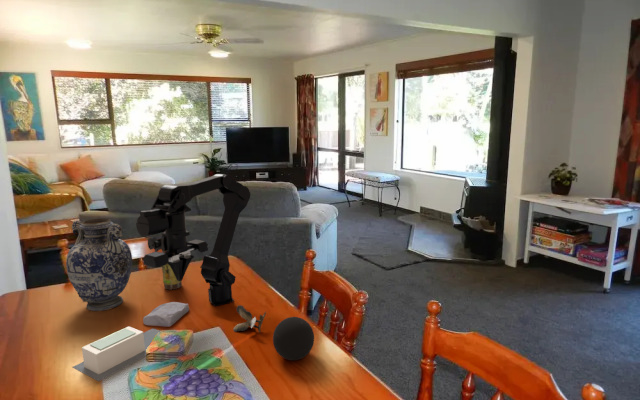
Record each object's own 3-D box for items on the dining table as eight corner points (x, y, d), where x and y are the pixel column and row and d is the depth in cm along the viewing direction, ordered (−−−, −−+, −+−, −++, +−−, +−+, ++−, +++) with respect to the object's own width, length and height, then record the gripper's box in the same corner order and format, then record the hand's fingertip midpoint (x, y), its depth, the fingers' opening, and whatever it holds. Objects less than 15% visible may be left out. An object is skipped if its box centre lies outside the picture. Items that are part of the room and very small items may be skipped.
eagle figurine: (267, 319, 119) (237, 311, 120) (265, 305, 114) (235, 298, 115) (258, 343, 114) (227, 335, 115) (256, 330, 109) (224, 322, 110)
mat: (153, 330, 116) (153, 328, 115) (179, 340, 110) (179, 338, 110) (72, 370, 97) (72, 367, 97) (99, 384, 91) (98, 381, 91)
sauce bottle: (161, 286, 148) (156, 233, 145) (179, 282, 152) (174, 230, 149) (167, 292, 143) (162, 236, 140) (185, 287, 147) (180, 233, 144)
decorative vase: (54, 310, 130) (44, 224, 125) (104, 290, 147) (97, 213, 142) (104, 321, 122) (95, 229, 117) (151, 298, 139) (144, 217, 134)
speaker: (318, 348, 105) (317, 311, 103) (308, 371, 95) (307, 330, 93) (281, 344, 107) (279, 308, 105) (267, 366, 97) (266, 326, 95)
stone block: (141, 334, 118) (172, 329, 116) (137, 318, 117) (168, 313, 115) (164, 317, 130) (192, 313, 127) (160, 302, 129) (189, 298, 127)
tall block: (128, 325, 106) (81, 346, 96) (143, 330, 103) (96, 353, 93) (130, 344, 107) (84, 367, 97) (145, 350, 104) (98, 374, 94)
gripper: (182, 219, 130) (186, 267, 132) (128, 232, 114) (134, 286, 117) (207, 223, 124) (211, 272, 126) (154, 237, 108) (159, 293, 111)
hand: (179, 280), depth 120 cm, fingers closed
